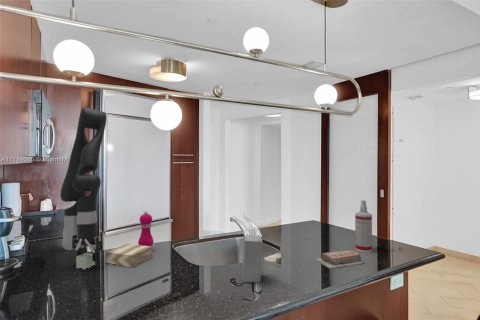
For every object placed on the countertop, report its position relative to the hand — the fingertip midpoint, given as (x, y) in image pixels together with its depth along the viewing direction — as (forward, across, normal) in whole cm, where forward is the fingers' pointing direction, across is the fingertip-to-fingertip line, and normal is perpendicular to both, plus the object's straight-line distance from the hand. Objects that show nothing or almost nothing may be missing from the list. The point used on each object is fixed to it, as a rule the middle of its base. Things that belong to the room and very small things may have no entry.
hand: (87, 260), depth 127 cm
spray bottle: (+4, +112, +64) cm, 129 cm away
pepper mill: (+3, +10, +27) cm, 29 cm away
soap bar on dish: (+5, +101, +41) cm, 109 cm away
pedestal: (+3, +12, +13) cm, 17 cm away
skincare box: (+4, +70, +11) cm, 70 cm away
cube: (+3, -1, 0) cm, 3 cm away
